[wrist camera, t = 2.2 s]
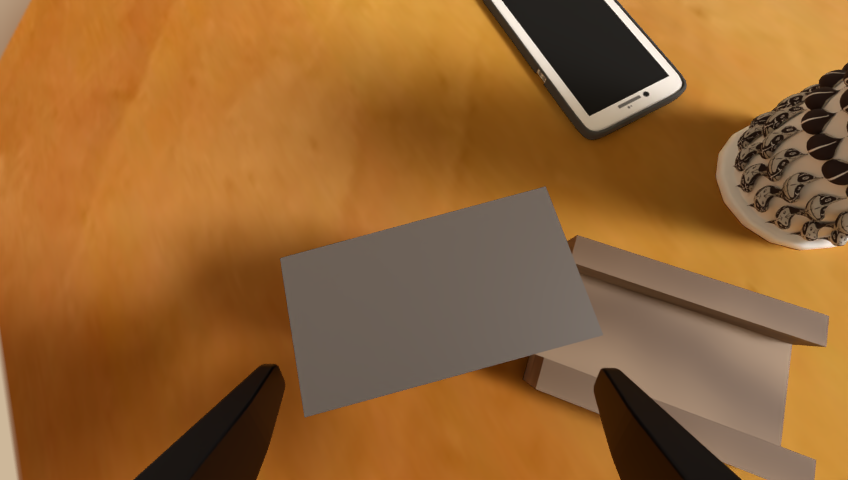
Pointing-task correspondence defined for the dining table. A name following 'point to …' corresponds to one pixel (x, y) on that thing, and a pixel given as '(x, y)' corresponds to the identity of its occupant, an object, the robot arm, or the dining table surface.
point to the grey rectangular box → (433, 300)
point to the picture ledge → (688, 354)
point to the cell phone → (591, 60)
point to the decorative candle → (793, 168)
